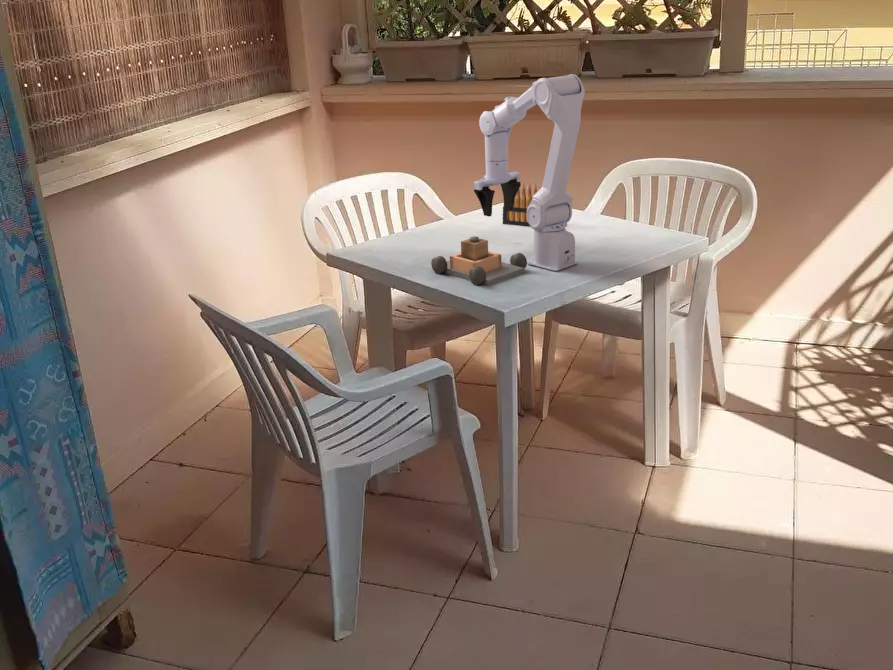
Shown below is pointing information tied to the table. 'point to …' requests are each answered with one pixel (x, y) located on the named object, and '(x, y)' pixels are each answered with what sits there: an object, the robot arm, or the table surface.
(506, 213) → the ammunition clip
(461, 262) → the chassis
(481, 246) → the block
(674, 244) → the table surface
